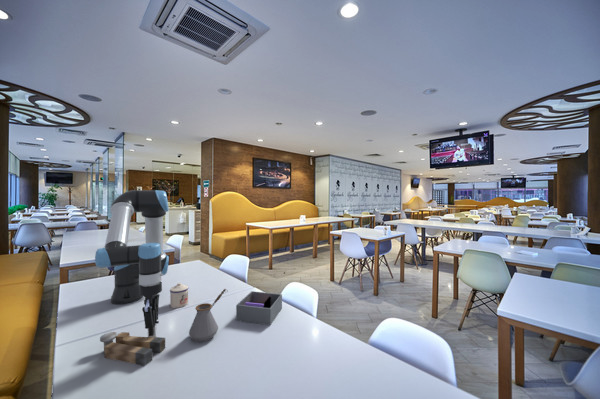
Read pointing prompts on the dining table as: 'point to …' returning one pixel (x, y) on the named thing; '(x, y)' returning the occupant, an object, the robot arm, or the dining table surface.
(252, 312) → the frame
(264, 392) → the dining table surface
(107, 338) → the bar
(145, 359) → the tongs lower arm
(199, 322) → the coffee pot
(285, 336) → the dining table surface
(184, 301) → the teacup with lid
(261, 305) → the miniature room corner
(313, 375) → the dining table surface
